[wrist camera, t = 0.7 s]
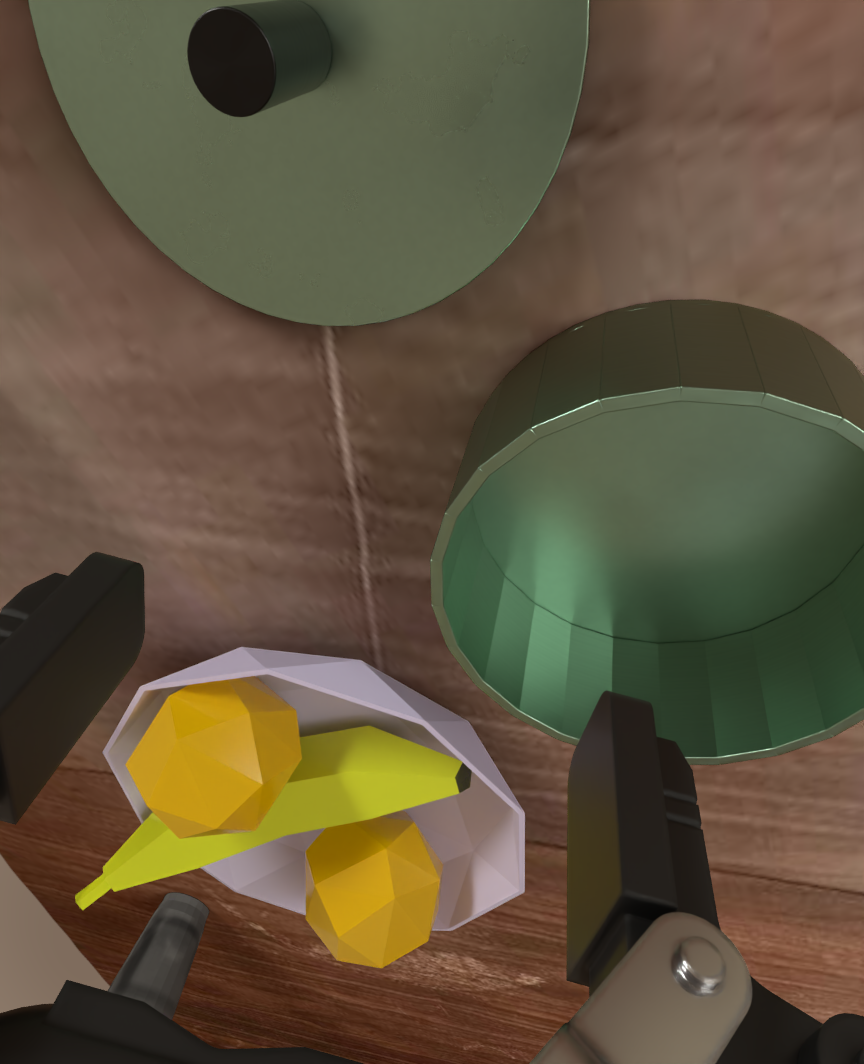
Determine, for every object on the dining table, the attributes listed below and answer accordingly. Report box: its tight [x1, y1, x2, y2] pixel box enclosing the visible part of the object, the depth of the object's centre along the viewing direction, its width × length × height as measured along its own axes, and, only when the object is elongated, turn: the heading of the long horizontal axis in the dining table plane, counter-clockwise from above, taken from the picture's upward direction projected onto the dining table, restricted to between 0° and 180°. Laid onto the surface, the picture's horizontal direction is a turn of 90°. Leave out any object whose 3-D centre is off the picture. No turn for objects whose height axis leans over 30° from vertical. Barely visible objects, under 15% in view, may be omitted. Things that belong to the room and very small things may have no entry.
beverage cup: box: [108, 893, 209, 1020], centre depth 63 cm, size 7×7×20 cm
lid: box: [28, 0, 591, 326], centre depth 23 cm, size 19×19×6 cm
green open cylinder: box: [430, 300, 864, 765], centre depth 30 cm, size 18×18×8 cm
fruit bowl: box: [75, 647, 525, 968], centre depth 45 cm, size 28×27×11 cm
